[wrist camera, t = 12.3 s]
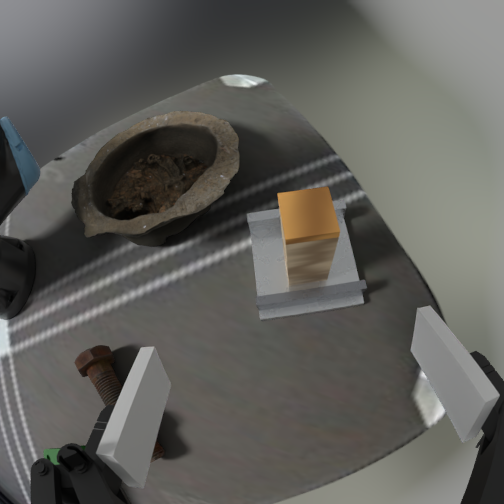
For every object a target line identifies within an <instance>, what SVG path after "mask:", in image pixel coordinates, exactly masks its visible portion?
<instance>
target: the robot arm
mask: <svg viewBox="0 0 504 504" xmlns="http://www.w3.org/2000/svg"><path fill="white" fill-rule="evenodd" d="M39 177H40V168H39V166H38V164H37V162H36V161H35V159H34V157H33V156H32V154H31V152H30V151H29V149H28V148H27V146H26V144H25V143H24V141H23V139H22V138H21V136H20V135H19V133H18V132H17V130H16V128H15V127H14V125H13V124H12V122H11V121H10V119H9V118H8V117H6V116H5V117H3V118H2V119H0V225H1V224H2V223H3V221H4V220H5V219H6V218H7V217H8V215H9V214H10V213H11V212H12V211H13V210H14V208H15V207H16V206H17V205H18V204H19V203H20V202H21V201H22V199H23V198H24V197H25V196H27V195H28V192H29V191H30V189H31V188H32V187H33V186H34V184H35V183H36V182H37V181H38V179H39ZM34 276H35V257H34V253H33V251H32V249H31V247H30V246H29V245H28V244H26V243H25V242H23V241H22V240H20V239H18V238H13V237H8V236H4V235H0V319H4V320H6V319H10V318H12V317H14V316H15V315H16V314H17V313H18V312H19V311H20V310H21V309H22V307H23V306H24V304H25V302H26V300H27V298H28V296H29V294H30V291H31V288H32V285H33V281H34ZM411 352H412V353H413V355H414V357H415V358H416V360H417V362H418V363H419V365H420V367H421V368H422V370H423V372H424V373H425V375H426V377H427V379H428V380H429V382H430V384H431V386H432V387H433V389H434V391H435V393H436V394H437V396H438V398H439V400H440V402H441V403H442V405H443V407H444V409H445V411H446V413H447V414H448V416H449V418H450V420H451V422H452V424H453V426H454V427H455V430H456V432H457V434H458V435H459V437H460V439H461V441H462V443H463V442H466V441H468V440H470V439H472V438H474V437H476V436H477V434H478V433H479V431H480V429H482V430H483V432H484V435H483V436H482V438H481V439H480V441H479V442H478V444H477V446H476V448H478V446H479V445H480V447H479V451H478V455H477V458H476V461H475V464H474V468H473V471H472V474H471V477H470V480H469V483H468V485H467V489H466V491H465V494H464V496H463V499H462V501H461V504H504V381H503V379H502V378H501V377H500V376H499V374H498V373H497V371H495V369H494V368H493V366H492V365H490V362H489V361H488V360H487V359H486V358H485V356H483V355H482V354H480V353H479V352H477V351H475V352H472V353H469V352H468V351H467V350H466V349H465V348H464V346H463V345H462V344H461V342H460V341H459V340H458V338H457V337H456V336H455V335H454V334H453V332H452V331H451V330H450V329H449V327H448V326H447V325H446V324H445V323H444V321H443V320H442V319H441V318H440V317H439V315H438V314H437V313H436V312H435V311H434V310H433V308H432V307H431V306H426V307H422V308H417V315H416V321H415V328H414V334H413V340H412V346H411ZM170 388H171V383H170V381H169V379H168V376H167V374H166V372H165V370H164V367H163V365H162V363H161V361H160V358H159V356H158V354H157V351H156V349H155V347H141V349H140V351H139V353H138V355H137V357H136V360H135V362H134V364H133V366H132V368H131V371H130V373H129V375H128V377H127V380H126V382H125V384H124V386H123V389H122V391H121V393H120V396H119V398H118V400H117V403H116V405H107V406H106V407H105V408H104V409H103V410H102V411H101V413H100V415H99V417H98V419H97V423H96V424H95V426H94V430H93V431H92V433H91V435H90V438H89V440H88V442H87V445H86V447H85V450H83V449H82V447H81V446H79V445H77V444H73V443H70V444H67V445H65V446H63V447H62V448H61V449H60V450H59V451H58V454H57V462H58V463H59V464H58V465H54V464H53V463H52V462H51V461H50V460H48V459H46V458H41V459H39V460H37V461H36V462H34V464H33V465H32V468H31V504H131V503H130V501H129V499H128V497H127V496H126V494H125V492H124V490H123V489H122V488H121V487H120V485H121V482H122V481H123V482H124V483H125V484H126V485H127V486H131V487H137V488H144V486H145V481H146V477H147V473H148V469H149V465H150V461H151V458H152V454H153V450H154V446H155V442H156V438H157V435H158V431H159V427H160V423H161V420H162V416H163V413H164V409H165V405H166V402H167V398H168V395H169V391H170Z"/></svg>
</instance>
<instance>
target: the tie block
mask: <svg viewBox="0 0 504 504" xmlns="http://www.w3.org/2000/svg"><path fill="white" fill-rule="evenodd" d="M277 194H278V203H279V212H280V221H281V230H282V240H283V250H284V257H285V263H286V270H287V276H288V283H289V286H291V285H298V284H304V283H311V282H317V281H324V280H327V279H328V275H329V272H330V268H331V265H332V261H333V257H334V254H335V250H336V246H337V243H338V239H339V235H340V228H339V224H338V221H337V217H336V213H335V209H334V206H333V202H332V198H331V195H330V191H329V188H328V187H321V188H313V189H305V190H298V191H291V192H284V193H277Z"/></svg>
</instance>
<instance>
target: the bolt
mask: <svg viewBox="0 0 504 504" xmlns="http://www.w3.org/2000/svg"><path fill="white" fill-rule="evenodd" d="M113 362H115V360H114V356H113V353H112V352H111V350H110V348H109V346H103V345H99V346H95V347H93V348H90V349H88V350H86V351H84V352H82V353H81V354H80V355H79V356H78V357H77V359H76V360H75V362H74V363H75V365H76V367H77V369H78V371H79V372H80V374H81V375H82V377H85V376H89V378H90V380H91V382H92V383H93V384H94V386H95V387H96V389H97V391H98V393H99V394H100V396H101V399H102V401H103V402H104V404H105V406H107V405H116V403H117V400H118V398H119V396H120V393H121V391H122V389H123V388H122V385H121V383H120V381H118V378H117V376H116V375H115V372H114V370H113V368H112V366H111V364H112V363H113ZM158 443H159V442H157V439H156V442H155V446H154V450H153V454H152V458H151V461H150V463H151V462H153V461H155V460H157V459H158V458H160V457H162V456H164V455H165V451H164V450H163V449H164V448H162V446H160V444H158Z"/></svg>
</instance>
